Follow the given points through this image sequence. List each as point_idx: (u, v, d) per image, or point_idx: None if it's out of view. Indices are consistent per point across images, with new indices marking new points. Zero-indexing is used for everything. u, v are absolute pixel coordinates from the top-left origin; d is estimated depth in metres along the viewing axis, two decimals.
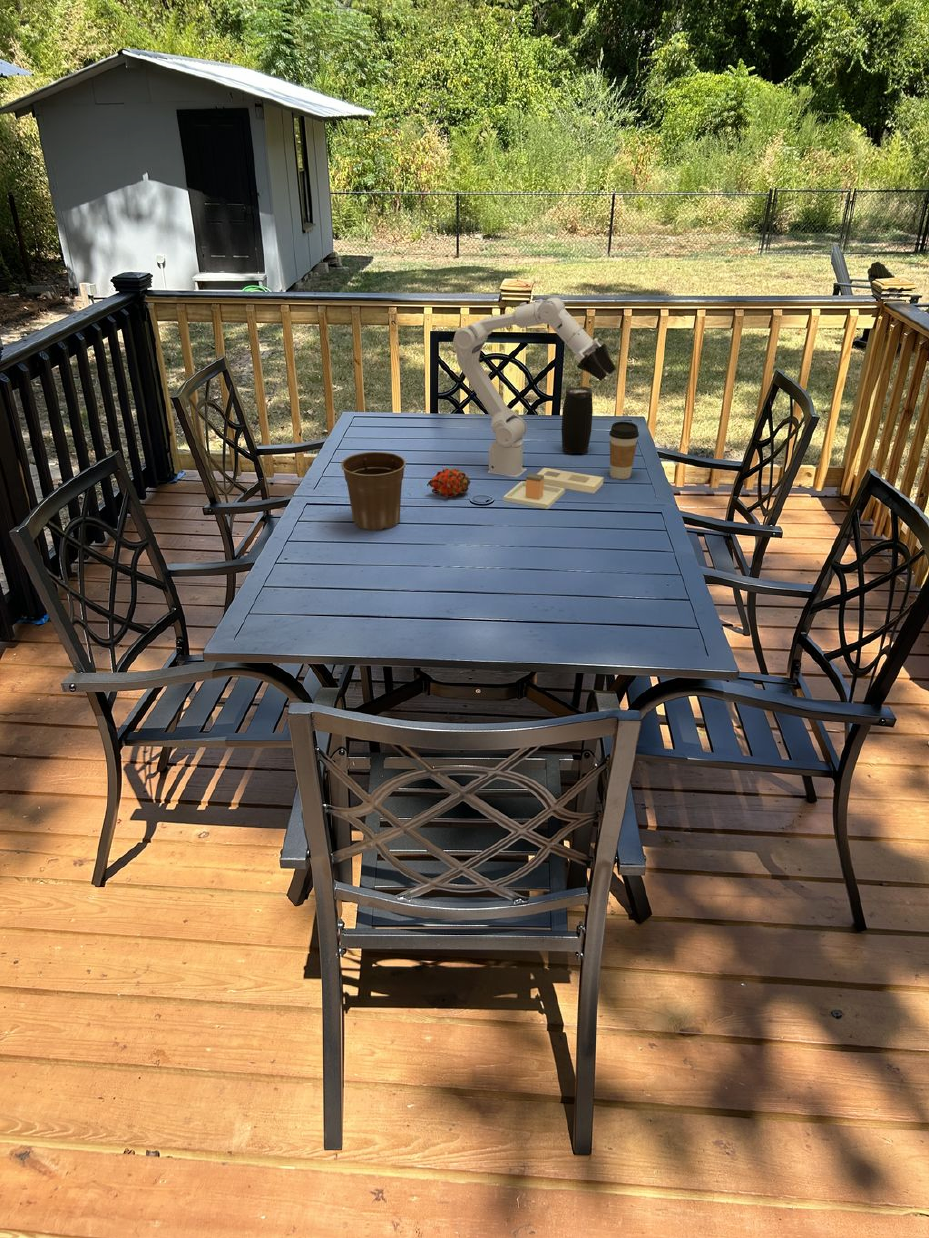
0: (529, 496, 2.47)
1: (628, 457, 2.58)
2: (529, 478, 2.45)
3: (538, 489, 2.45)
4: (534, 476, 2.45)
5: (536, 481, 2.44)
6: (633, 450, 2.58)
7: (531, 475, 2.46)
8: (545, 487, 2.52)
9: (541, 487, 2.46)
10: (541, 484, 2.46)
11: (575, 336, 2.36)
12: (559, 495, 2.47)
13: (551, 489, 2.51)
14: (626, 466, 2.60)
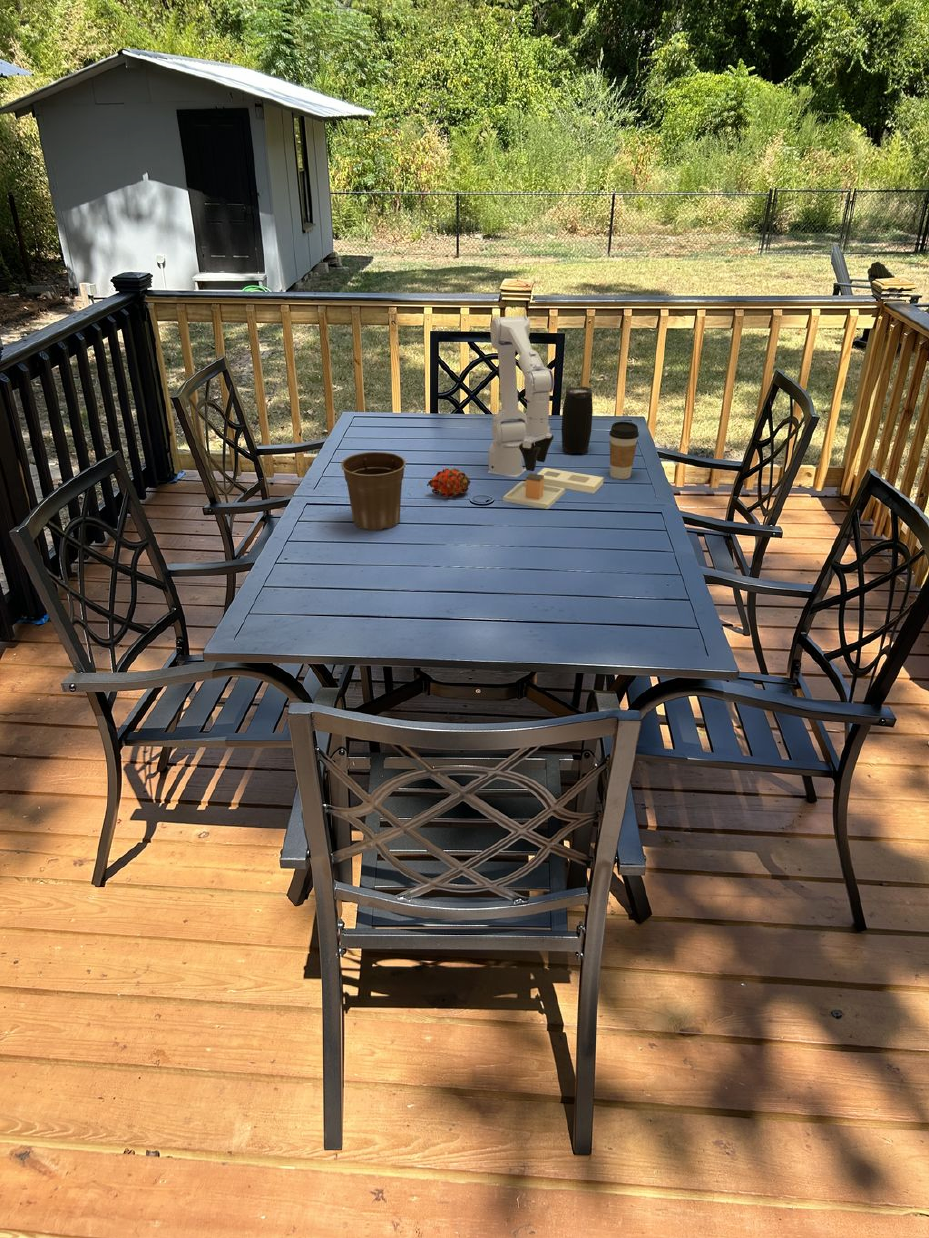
0: (529, 496, 2.47)
1: (628, 457, 2.58)
2: (529, 478, 2.45)
3: (538, 489, 2.45)
4: (534, 476, 2.45)
5: (536, 481, 2.44)
6: (633, 450, 2.58)
7: (531, 475, 2.46)
8: (545, 487, 2.52)
9: (541, 487, 2.46)
10: (541, 484, 2.46)
11: (538, 421, 2.35)
12: (559, 495, 2.47)
13: (551, 489, 2.51)
14: (626, 466, 2.60)
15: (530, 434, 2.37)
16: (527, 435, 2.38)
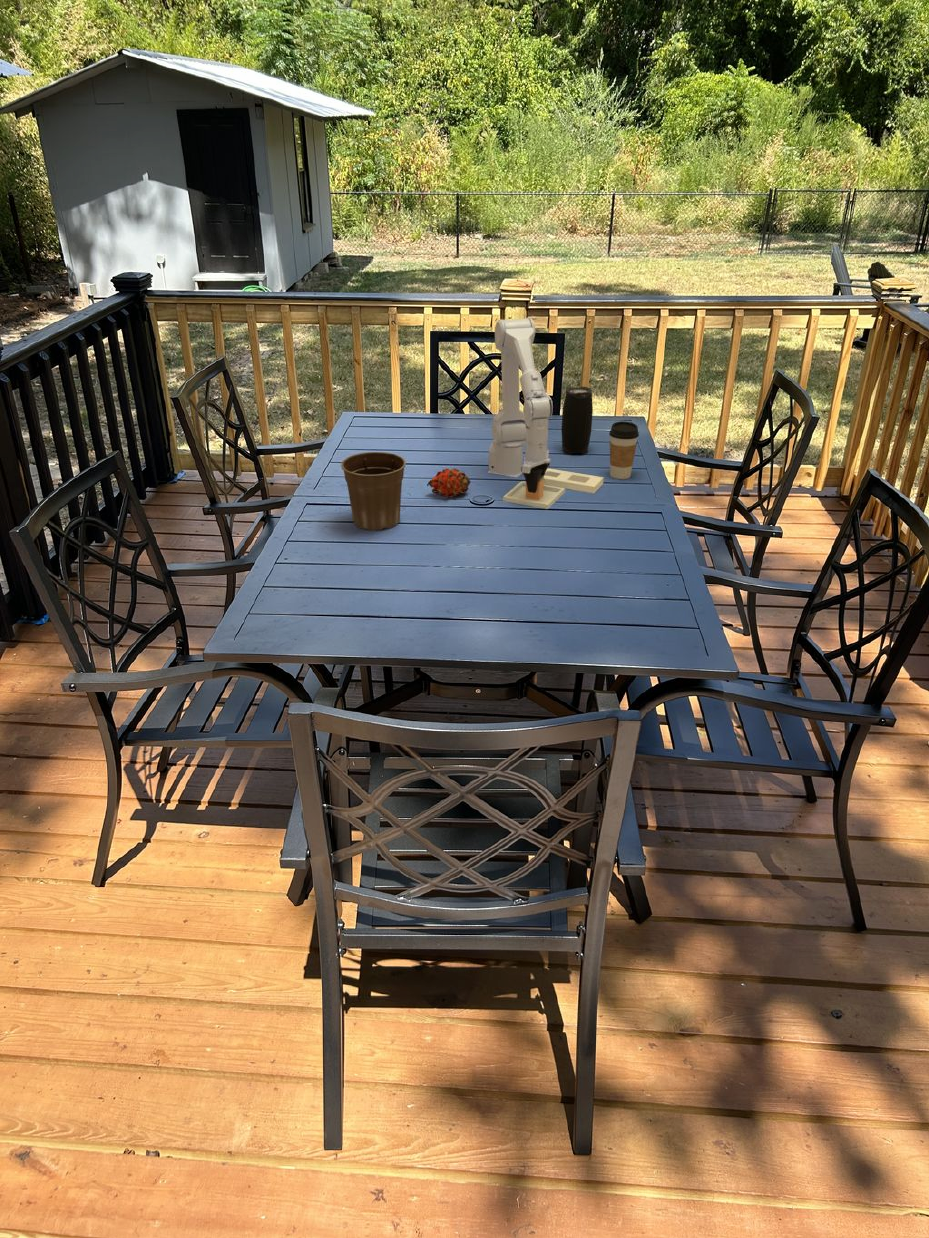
0: (529, 496, 2.47)
1: (628, 457, 2.58)
2: None
3: (538, 489, 2.45)
4: None
5: None
6: (633, 450, 2.58)
7: None
8: (545, 487, 2.52)
9: (541, 487, 2.46)
10: (541, 484, 2.46)
11: (537, 447, 2.38)
12: (559, 495, 2.47)
13: (551, 489, 2.51)
14: (626, 466, 2.60)
15: (529, 459, 2.41)
16: (526, 460, 2.42)
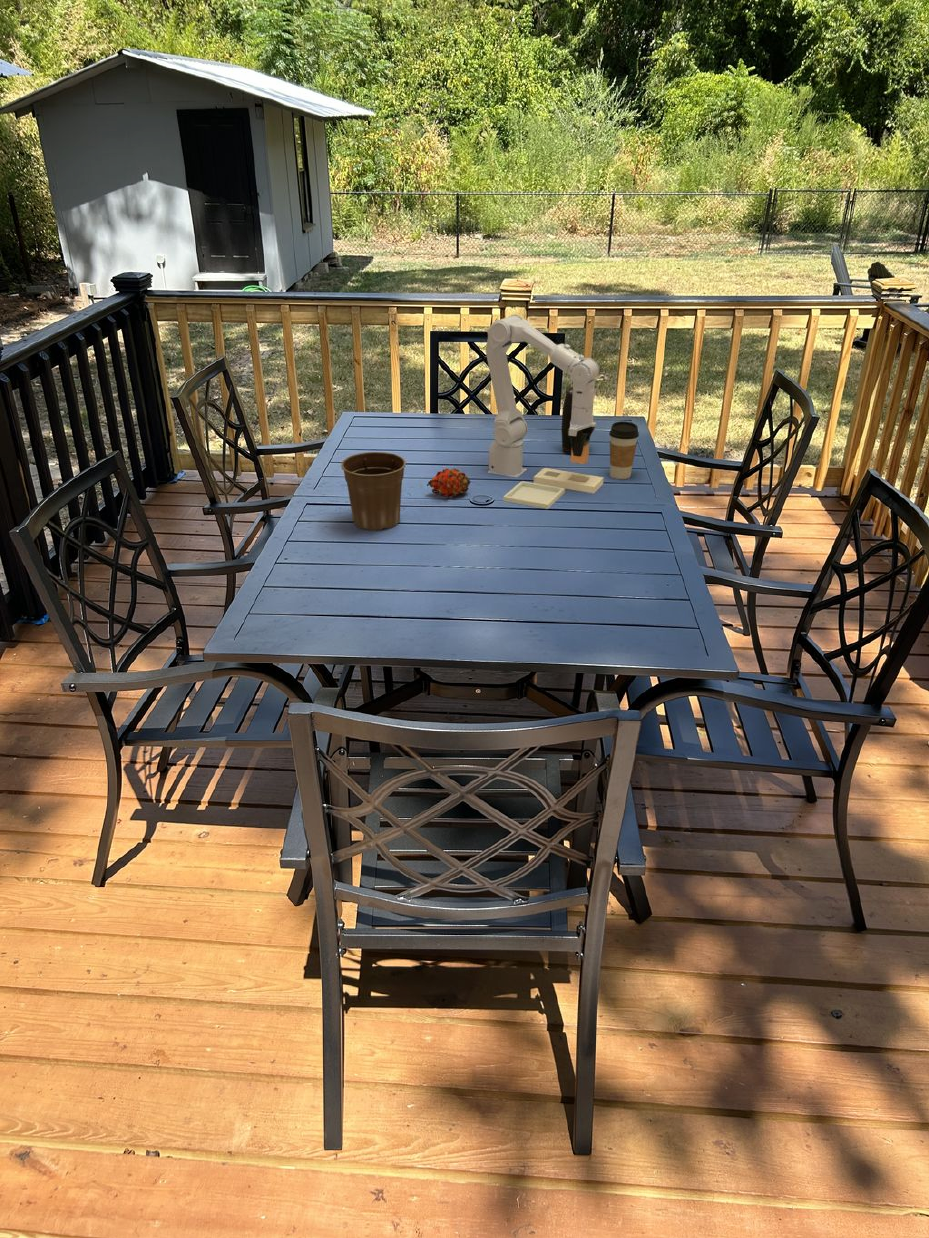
0: (574, 461, 2.51)
1: (628, 457, 2.58)
2: None
3: (584, 453, 2.49)
4: None
5: None
6: (633, 450, 2.58)
7: None
8: (545, 487, 2.52)
9: (586, 452, 2.50)
10: (587, 448, 2.50)
11: (583, 410, 2.42)
12: (559, 495, 2.47)
13: (551, 489, 2.51)
14: (626, 466, 2.60)
15: (575, 423, 2.45)
16: (572, 424, 2.45)
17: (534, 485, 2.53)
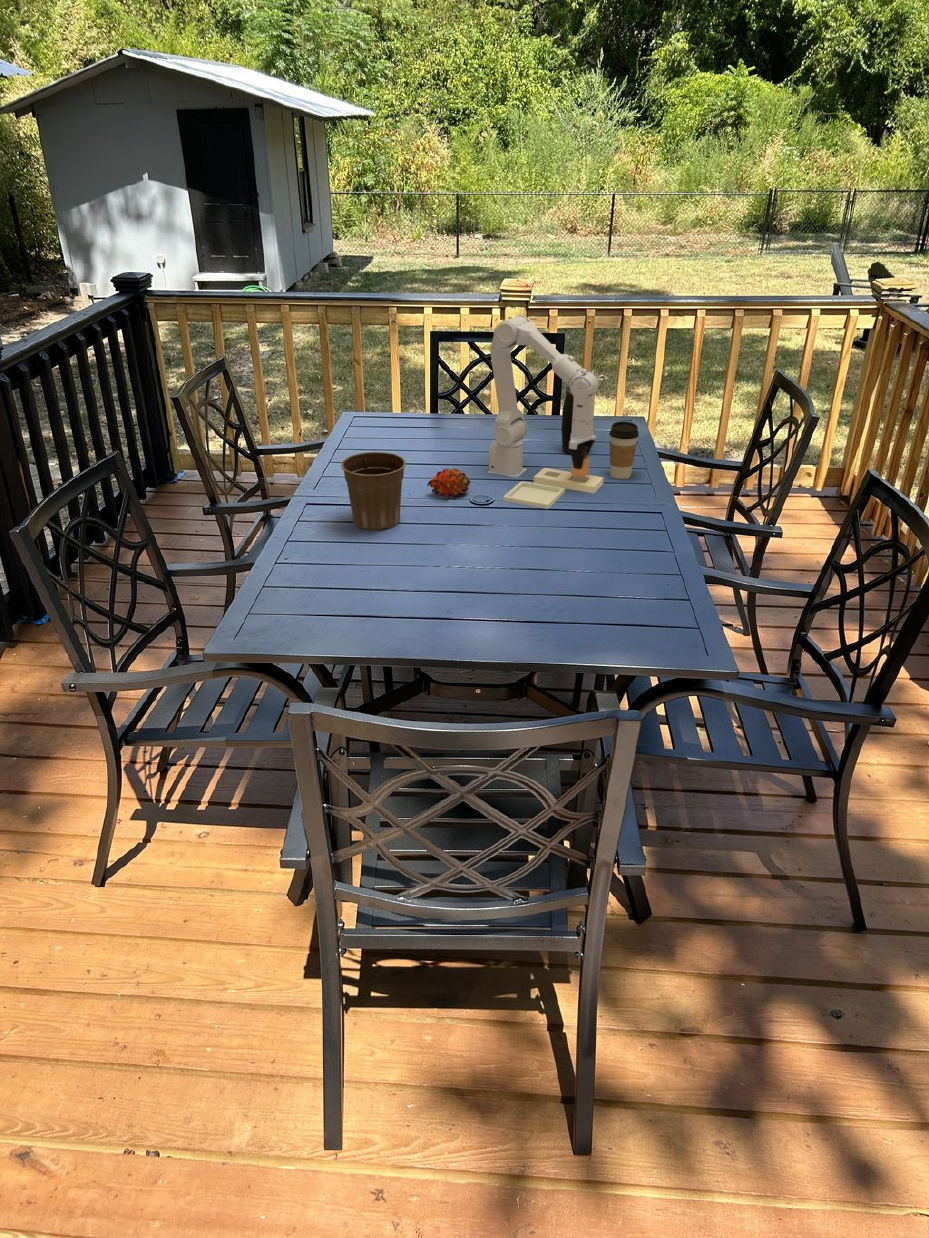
0: (575, 473, 2.53)
1: (628, 457, 2.58)
2: None
3: (584, 466, 2.51)
4: None
5: None
6: (633, 450, 2.58)
7: None
8: (545, 487, 2.52)
9: (587, 464, 2.52)
10: (587, 461, 2.52)
11: (583, 424, 2.44)
12: (559, 495, 2.47)
13: (551, 489, 2.51)
14: (626, 466, 2.60)
15: (575, 436, 2.47)
16: (572, 437, 2.47)
17: (534, 485, 2.53)
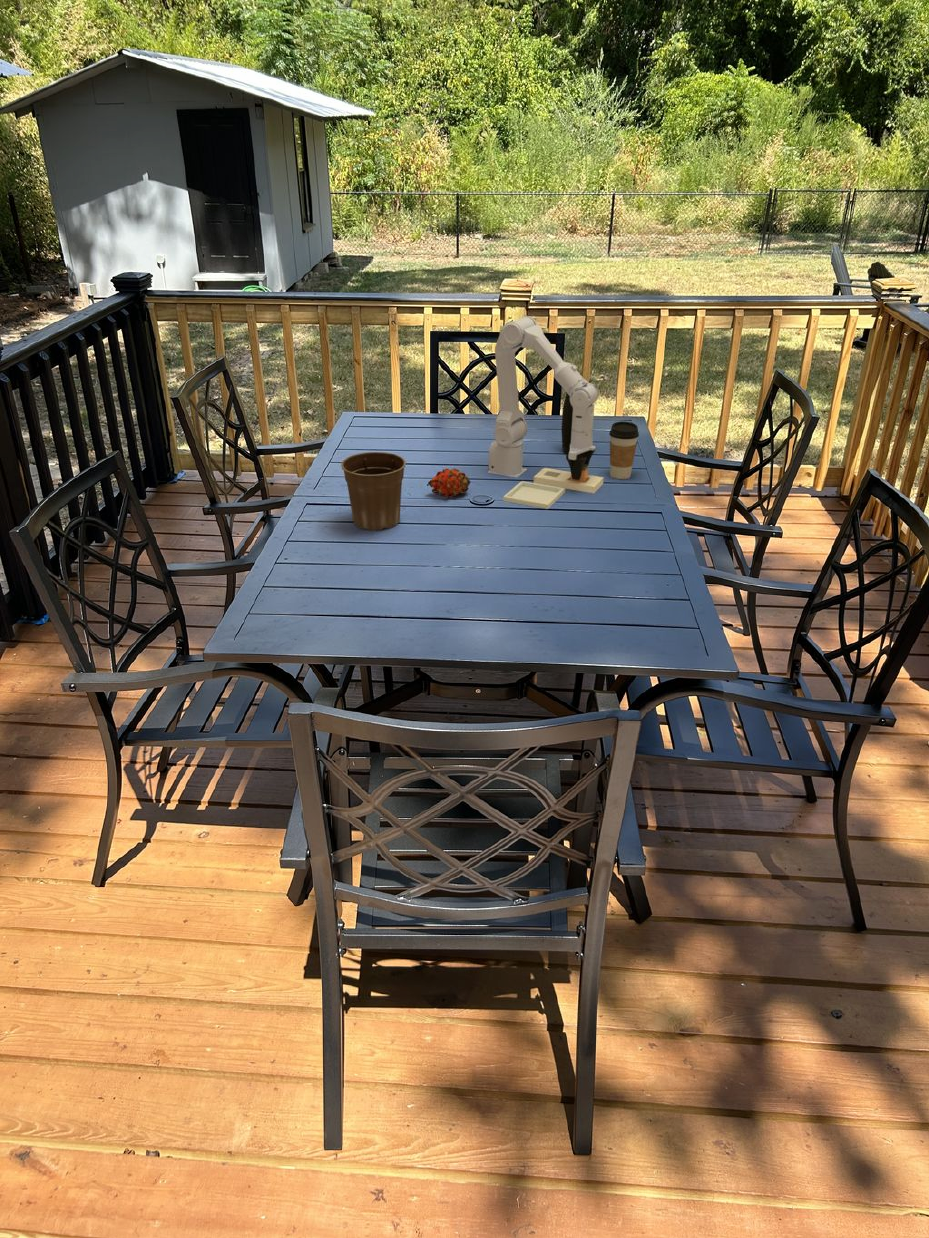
0: None
1: (628, 457, 2.58)
2: None
3: (583, 478, 2.53)
4: None
5: None
6: (633, 450, 2.58)
7: None
8: (545, 487, 2.52)
9: (586, 476, 2.54)
10: (586, 473, 2.53)
11: (583, 434, 2.46)
12: (559, 495, 2.47)
13: (551, 489, 2.51)
14: (626, 466, 2.60)
15: (575, 446, 2.48)
16: (572, 447, 2.49)
17: (534, 485, 2.53)
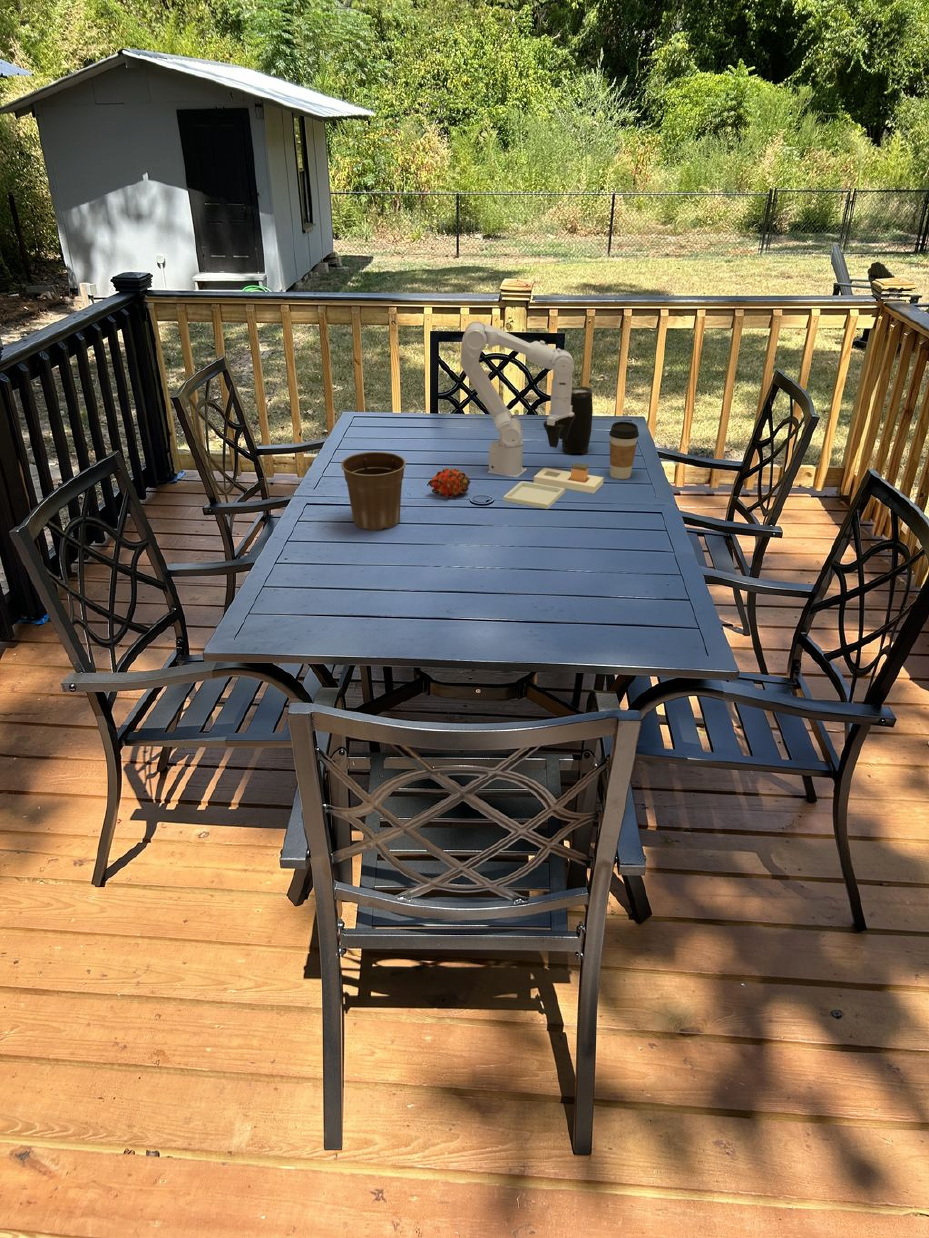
0: None
1: (628, 457, 2.58)
2: (574, 467, 2.52)
3: (583, 478, 2.53)
4: (579, 465, 2.53)
5: (581, 470, 2.52)
6: (633, 450, 2.58)
7: (576, 464, 2.53)
8: (545, 487, 2.52)
9: (586, 476, 2.54)
10: (586, 473, 2.53)
11: (561, 401, 2.52)
12: (559, 495, 2.47)
13: (551, 489, 2.51)
14: (626, 466, 2.60)
15: (554, 412, 2.54)
16: (551, 413, 2.55)
17: (534, 485, 2.53)
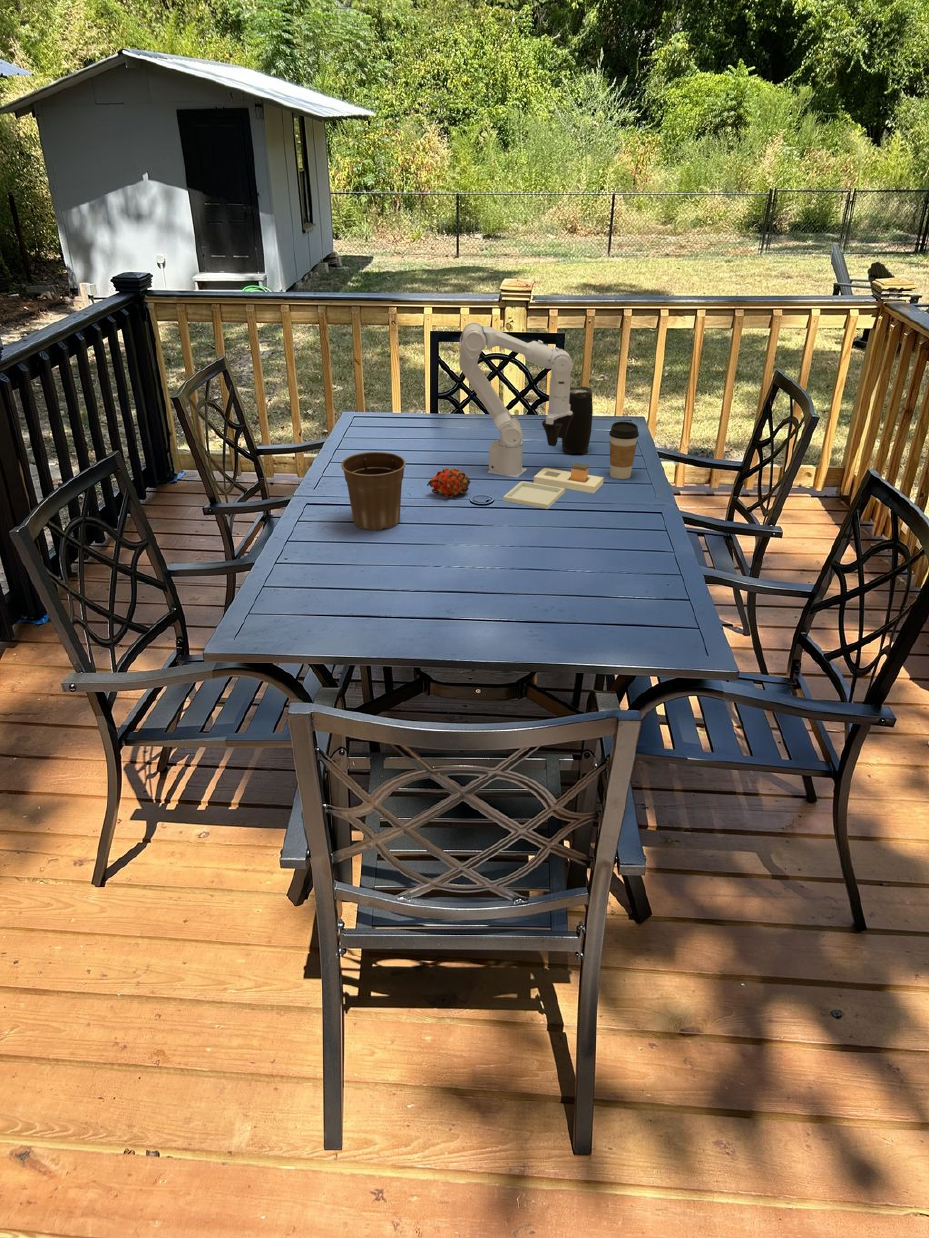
0: None
1: (628, 457, 2.58)
2: (574, 467, 2.52)
3: (583, 478, 2.53)
4: (579, 465, 2.53)
5: (581, 470, 2.52)
6: (633, 450, 2.58)
7: (576, 464, 2.53)
8: (545, 487, 2.52)
9: (586, 476, 2.54)
10: (586, 473, 2.53)
11: (560, 399, 2.53)
12: (559, 495, 2.47)
13: (551, 489, 2.51)
14: (626, 466, 2.60)
15: (552, 411, 2.55)
16: (549, 412, 2.56)
17: (534, 485, 2.53)
